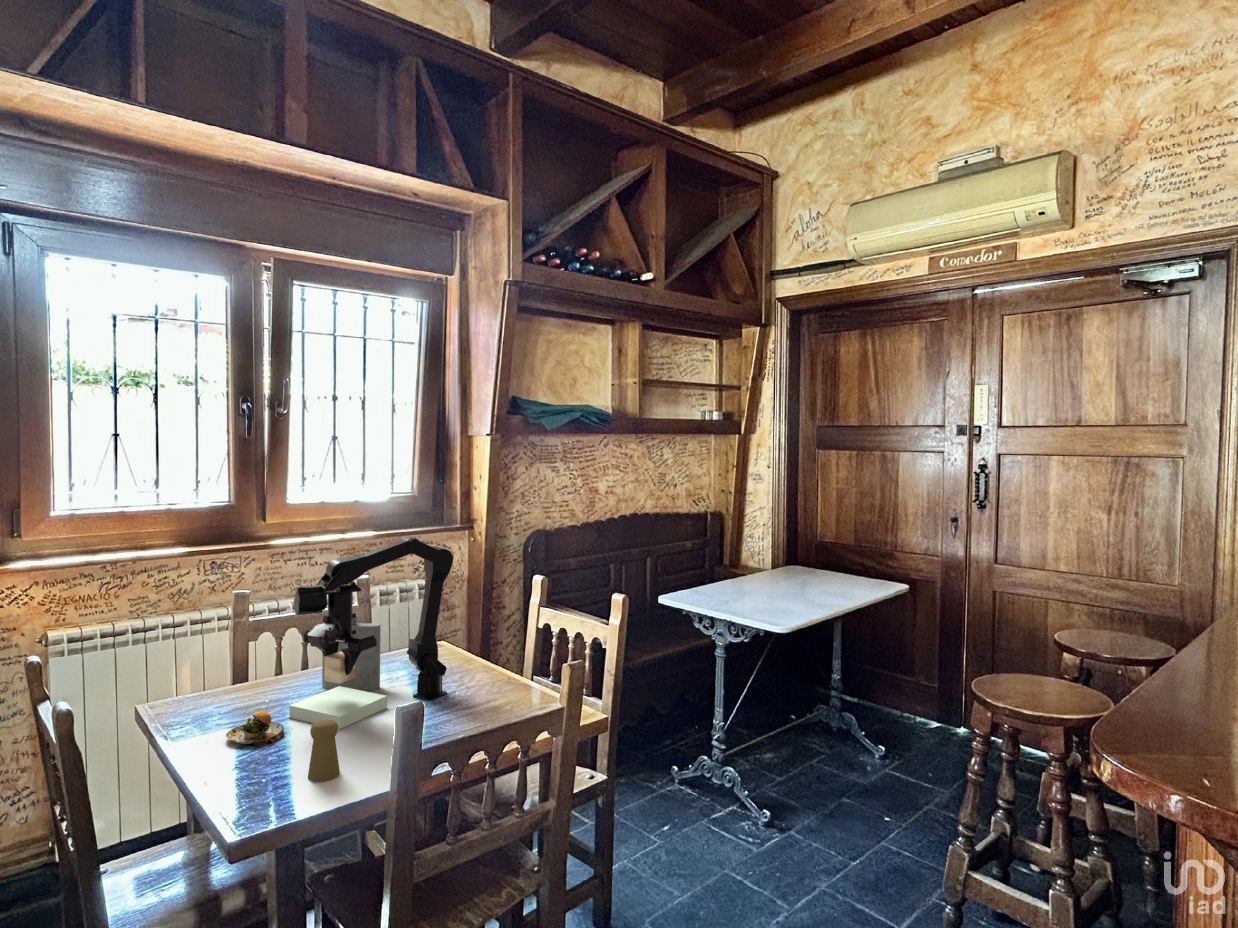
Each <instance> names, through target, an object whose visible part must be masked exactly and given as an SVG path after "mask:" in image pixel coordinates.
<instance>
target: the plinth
mask: <svg viewBox="0 0 1238 928" xmlns="http://www.w3.org/2000/svg"><path fill="white" fill-rule="evenodd" d="M288 707H289V709H288V710H289V715H288V718H290V719H293V720H298V721H302V722H306V723H311V724H314V723H315V722H317V721H319V720H324V719H331V720H334V721H336V723H337V724H338V730H342V729H343V728H346V727H347V726H350V725H352V724H354V723H356V722H358V721H361V720H362V719H365V718H367V717H369V716H372V715H373V714H376V713H377V712H381V711H382V710H385V709H387V708H388V696H387V695H384V694H379V693H375V692H371V691H370V692H369V691H367V690H365V691H361V690H356V689H351V688H346V687H341V686H338V687H336V688H333V689H328V690H326V691H323V692H321V693H317V694H315V695H313V696H310V697H307V698H305V699H302V700H300V701H296V702H294V703H292V704H289V706H288Z"/></svg>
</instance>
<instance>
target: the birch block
mask: <svg viewBox="0 0 1238 928" xmlns="http://www.w3.org/2000/svg"><path fill="white" fill-rule="evenodd" d="M353 678H355V665H354V667H353V669H352V671H351V673H350V674H349V675H346V672H345V655H344V654H343V652H337V653H334V654H331V655H327V656H324V681H328V682H333V683H338V684H340V683H343V682H345V681H348V680H351V679H353Z"/></svg>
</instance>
